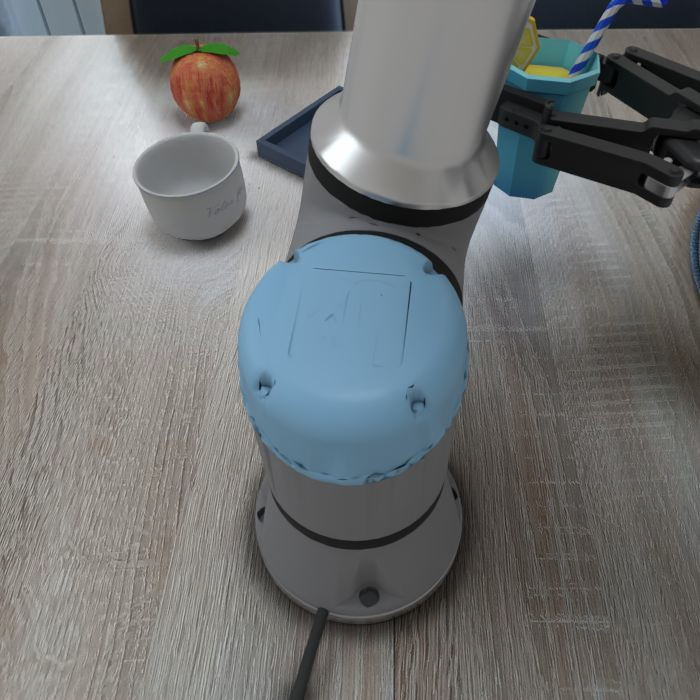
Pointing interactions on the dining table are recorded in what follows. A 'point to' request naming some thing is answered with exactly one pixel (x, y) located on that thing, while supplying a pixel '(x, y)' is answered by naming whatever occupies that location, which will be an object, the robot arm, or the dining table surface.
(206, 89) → the fruit
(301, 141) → the tray
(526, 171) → the cup
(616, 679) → the dining table surface
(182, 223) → the teacup
